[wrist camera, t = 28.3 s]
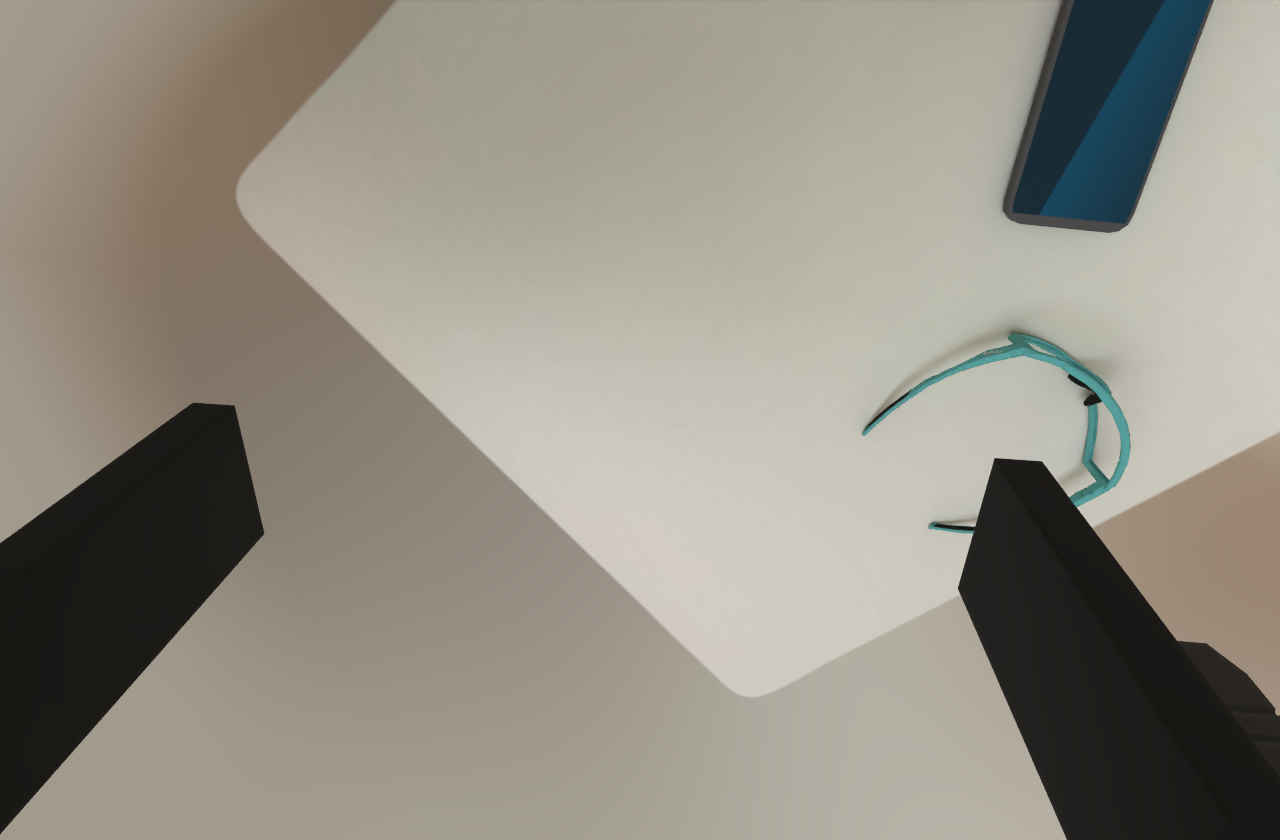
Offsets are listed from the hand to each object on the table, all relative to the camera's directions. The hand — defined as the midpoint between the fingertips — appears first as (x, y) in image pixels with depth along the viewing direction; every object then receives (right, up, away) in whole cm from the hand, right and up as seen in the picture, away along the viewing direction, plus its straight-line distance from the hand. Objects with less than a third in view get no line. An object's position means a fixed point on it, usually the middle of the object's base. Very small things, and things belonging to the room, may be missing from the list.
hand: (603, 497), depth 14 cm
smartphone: (+27, +20, +31) cm, 46 cm away
